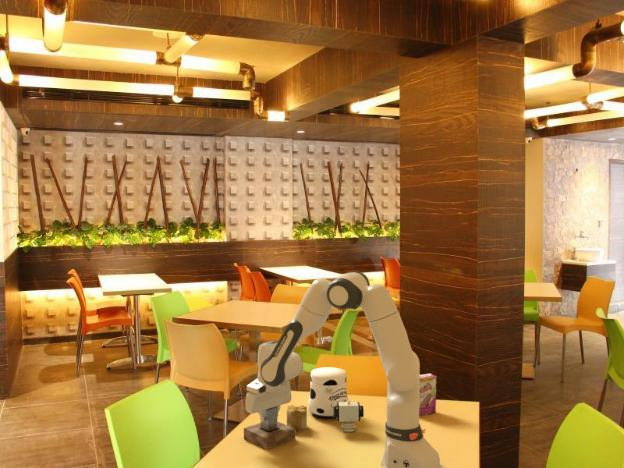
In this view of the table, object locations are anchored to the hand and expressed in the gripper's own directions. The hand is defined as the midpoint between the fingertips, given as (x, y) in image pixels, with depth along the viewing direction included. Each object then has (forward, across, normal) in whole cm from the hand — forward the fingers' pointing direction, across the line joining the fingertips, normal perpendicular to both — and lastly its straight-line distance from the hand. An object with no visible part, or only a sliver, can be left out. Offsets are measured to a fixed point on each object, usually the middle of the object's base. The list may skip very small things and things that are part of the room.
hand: (269, 418), depth 229 cm
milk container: (+8, -36, -4) cm, 37 cm away
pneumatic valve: (+8, -28, +15) cm, 33 cm away
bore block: (+8, 0, 0) cm, 8 cm away
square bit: (+4, 0, 0) cm, 4 cm away
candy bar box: (+8, -65, +24) cm, 70 cm away
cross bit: (+8, -15, -1) cm, 17 cm away
